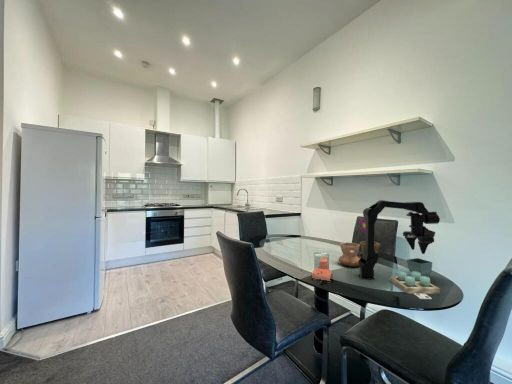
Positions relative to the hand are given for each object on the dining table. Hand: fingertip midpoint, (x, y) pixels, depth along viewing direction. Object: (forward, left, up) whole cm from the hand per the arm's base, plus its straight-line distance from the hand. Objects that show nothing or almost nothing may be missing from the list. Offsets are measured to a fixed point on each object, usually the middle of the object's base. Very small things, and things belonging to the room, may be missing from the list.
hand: (418, 251), depth 125 cm
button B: (-14, -17, -12) cm, 25 cm away
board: (-10, -13, -15) cm, 22 cm away
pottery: (-53, +2, -15) cm, 55 cm away
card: (-12, -24, -15) cm, 30 cm away
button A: (-14, -9, -12) cm, 21 cm away
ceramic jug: (-30, +23, -15) cm, 41 cm away
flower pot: (+2, +2, -15) cm, 15 cm away
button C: (-7, -10, -13) cm, 17 cm away
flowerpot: (-9, +43, -15) cm, 46 cm away
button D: (-7, -16, -13) cm, 22 cm away
